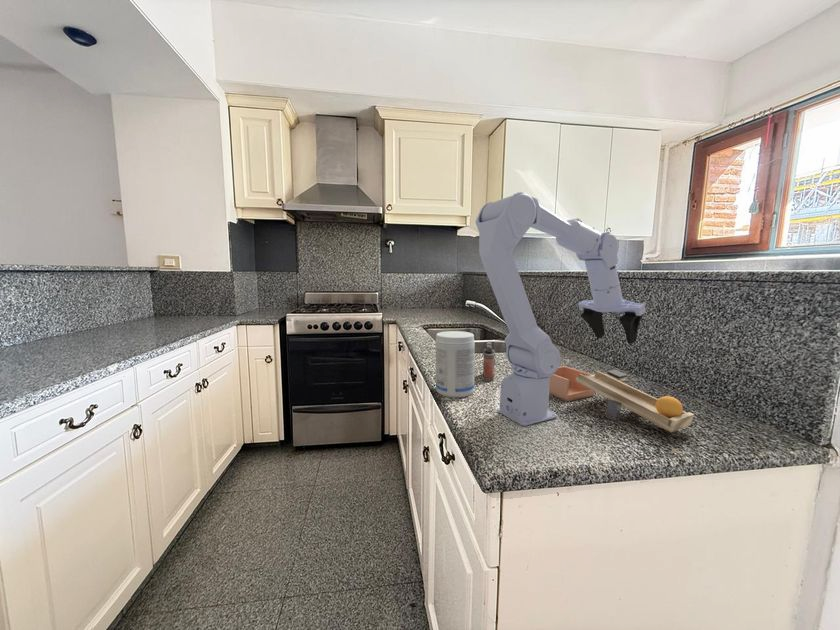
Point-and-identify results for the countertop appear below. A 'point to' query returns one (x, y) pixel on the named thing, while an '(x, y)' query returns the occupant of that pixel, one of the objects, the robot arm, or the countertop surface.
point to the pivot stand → (613, 410)
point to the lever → (632, 398)
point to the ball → (669, 406)
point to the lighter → (488, 362)
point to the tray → (568, 384)
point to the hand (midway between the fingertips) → (615, 339)
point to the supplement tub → (455, 363)
